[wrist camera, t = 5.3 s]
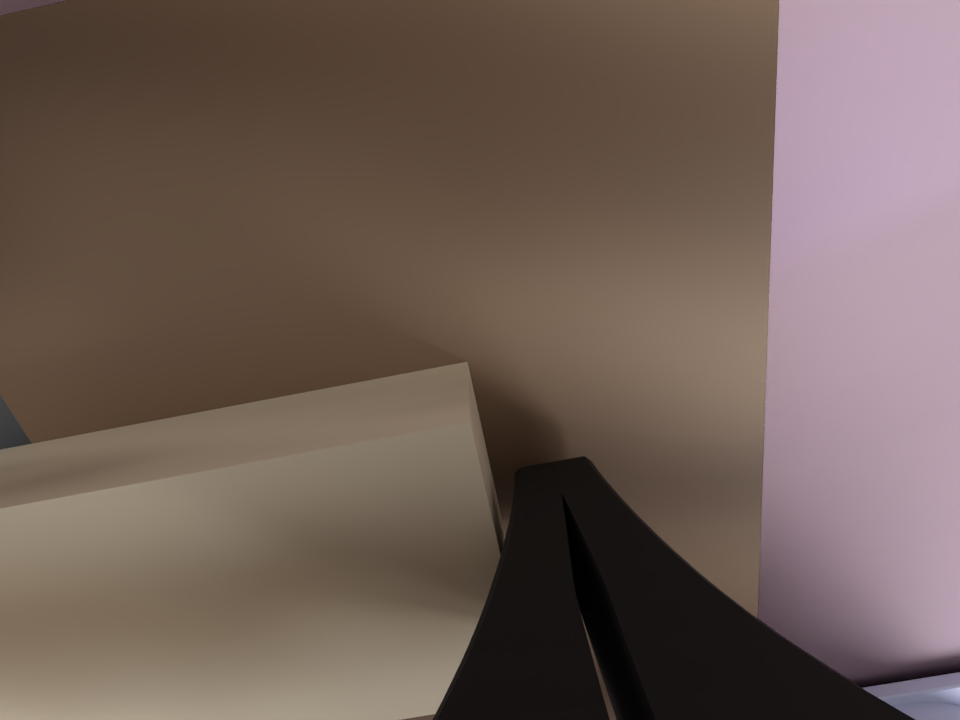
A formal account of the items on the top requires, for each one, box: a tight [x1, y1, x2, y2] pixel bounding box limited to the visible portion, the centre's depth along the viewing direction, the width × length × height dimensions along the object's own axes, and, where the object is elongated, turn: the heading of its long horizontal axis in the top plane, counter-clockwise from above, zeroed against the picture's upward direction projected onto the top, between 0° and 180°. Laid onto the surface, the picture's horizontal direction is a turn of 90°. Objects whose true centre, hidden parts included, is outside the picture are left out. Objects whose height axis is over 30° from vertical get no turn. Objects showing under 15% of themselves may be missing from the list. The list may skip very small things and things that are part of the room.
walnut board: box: [0, 0, 779, 720], centre depth 11 cm, size 18×13×2 cm
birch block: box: [0, 362, 505, 720], centre depth 10 cm, size 6×10×2 cm, turn 101°
